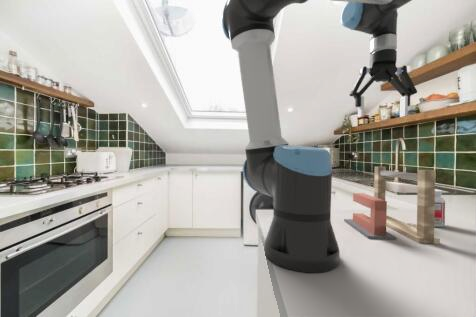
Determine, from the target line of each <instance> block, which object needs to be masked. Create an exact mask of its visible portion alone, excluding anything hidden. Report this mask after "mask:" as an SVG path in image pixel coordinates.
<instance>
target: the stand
mask: <svg viewBox="0 0 476 317" xmlns="http://www.w3.org/2000/svg"><path fill="white" fill-rule="evenodd" d="M386 169H387V167H386V166H374V179H373V180H374V185H373V186H374V189H373V190H374V192H373V195H374V196H373V197H375V198H378V199H381V200H384V201H386V184H387V182H386V178H387V177H391V178H397V179H403V180H405V179H406V180H411V181H413V180H414V181H417V192H416V193H417V194H416V195H417V196H416V197H417V200H416V201H417V202H416V227H414V226H412V225H409V224H408V223H405V222H402V221H400V220H398V219H396V218H393V217H392V216H389V215H386V228H387V227H388V228H389V229H391V230H393V231H395V232H397V233H399V234H400V235H403V236H404V237H407V238H408V239H410V240H412V241H414V242H416V243H418V244H437V245H440V243H441V242H440V241H441V239H440V238H439V237H436V236H435V227H434V218H435V190H436V170H435V169H433V170H432V169H417V173H414V172H404V171H393V170H386ZM369 217H370V218H371V213H370V214H369Z"/></svg>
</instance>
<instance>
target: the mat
mask: <svg viewBox="0 0 476 317" xmlns="http://www.w3.org/2000/svg"><path fill="white" fill-rule="evenodd" d="M343 222H345V223H346V224H348V225H349V226H350V227H351V228H353V229H355V231H357V232H359V233H360V234H361V235H363V236H364V237H366V239H373V240H375V239H377V240H396V241H397V236H395V235H394V234H392V233H390V232H388V231H387V230H386V236H384V235H373V234H372V233H370V232H369V231H367V230H366V229H364V228H363V227H361V226H360V225H358V224H357V223H355V222H354V221H353V218H352V219H351V218H349V219H348V218H344V219H343Z"/></svg>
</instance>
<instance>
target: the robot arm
mask: <svg viewBox="0 0 476 317" xmlns="http://www.w3.org/2000/svg"><path fill="white" fill-rule="evenodd" d="M308 1H309V0H227V1H226V2H225V5H224V8H223V11H222V16H221V26H222V27H221V28H222V31H223V34H224V35H225V37H226V39H228V40H229V42H230V47H231V49H232V50H234V51H235V52H236V53H237V57H238V63H239V64H238V65H239V72H240V79H241V86H242V93H243V100H244V106H245V107H244V108H245V114H246V124H247V130H248V138H249V142H248V143H247V144H246V146H245V148H244V150H245V157H246V159H245V161H244V162H243V165H242V176H243V179H244V181H245V183H246V184H247V186H248V187H250V189H251V190H254V191H255V192H256V193H259V194H261V195H266V196H267V197H272V198H273V214H272V215H273V216H272V220H271V222H270V226H269V229H268V232H267V233H266V234H267V235H266V238H265V242H264V254H265V256H266V258H267V259H268V260H270V261H271V262H272V263H273V264H275V265H277V266H280V267H282V268H284V269H288V270H292V271H296V272H301V273H323V272H328V271H331V270H334V269H336V268H337V267H339V265H340V259H341V258H340V251H341V250H340V247H339V244H338V241H337V239H336V235H335V231H334V228H333V225H332V221H331V218H332V217H331V215H332V214H331V211H332V210H331V208H332V185H333V184H332V181H333V180H332V178H333V175H332V173H333V166H332V156H331V155H332V154H330V151H328V150H327V149H325V148H322V147H321V148H320V147H315V146H304V145H303V146H302V145H291V144H289V142H288V141H287V140H286V139H284V137H283V136H282V135H283V134H282V128H281V121H280V112H279V105H278V99H277V89H276V83H275V75H274V68H273V67H274V66H273V60H272V58H273V57H272V50H271V46H272V44H273V43H274V41H275V38H276V35H275V34H276V33H275V26H274V19H275V18H276V17H277V15H278V14H279V13H280V12H281V11H282V10H283V9H284V8H285V7H287V6H289V5H292V4H305V3H307V2H308ZM331 1H334V2H346V4H345V6H344V7H343V9H342V12H341V14H340V23H341V25H342V27H344V28H347V29H350V30H351V31H357V32H360V33H364V34H368V35H369V68H368V67H367V66H363V67H362V68H360V69H359V74H358V77H357V79H356V81H355V82H354V84H353V87H352V89H351V91H350V92H349V96H350V97H353V99H354V100H355V103H354V104H355V107H356V108H357V118H362V117H364V116H365V96H364V95H363V94H364V93H365V92H366V91H367V90H368V89H369V87H370V86H371V85H372V84H373V83H374V82H376V83H380V82H383V83H386V82H387V83H389V84H391V85H392V86H393V88H395V90H396V91H397V92H398V93H399V94H400V95H401V97H399V118H405V117H407V116H408V113H409V112H408V111H409V110H408V109H409V108H408V107H410V106H411V96H413V95H415V94H417V93H418V90H417V88H416V86H415V84H414V82H413V80H412V78H411V76H410V74H409V73H408V68H407V65H403V66H401V67H400V66H399V67H397V59H398V58H397V56H398V55H397V52H398V51H397V49H398V45H397V44H398V40H397V39H398V37H397V36H398V34H397V31H398V29H397V28H398V15H399V13H398V9H399V8H401V7H403V6H405V5H407V4H408V3H410V2H411V1H412V0H331ZM367 74H369V75H370V78H369V79H367V81H366V82H365V84H364V85H363V86H362V87H361V88H360V86H361V84H362V82H363V81H364V79H365V77H366V75H367ZM359 88H360V89H359Z"/></svg>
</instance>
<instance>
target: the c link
mask: <svg viewBox="0 0 476 317" xmlns="http://www.w3.org/2000/svg"><path fill="white" fill-rule="evenodd" d="M352 201H353V202H355V203H356V204H357V203H358V204H359V205H362V206H363V207H366V208H368V209H370V214H371V218H370V216H368V215H366V214H365V213H358V212H357V213H355V212H353V213H352V219H353V221H354V222H355V223H357V224H358V225H360V226H361V227H363V228H364V229H366V230H367V231H369V232H370V233H372V234H373V235H384V236H386V231H387V226H386V215H387V214H388V213H387V210H388V208H387V207H388V206H387V204H388V203H387V202H388V201H387V200H385V201H384V200H381V199H378V198H375V197H374V196H373V195H369V194H366V193H364V192H360V193H359V192H353V193H352ZM387 216H388V215H387Z"/></svg>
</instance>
